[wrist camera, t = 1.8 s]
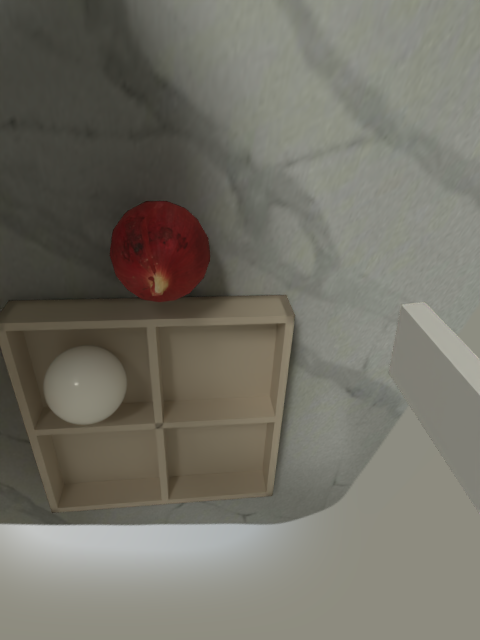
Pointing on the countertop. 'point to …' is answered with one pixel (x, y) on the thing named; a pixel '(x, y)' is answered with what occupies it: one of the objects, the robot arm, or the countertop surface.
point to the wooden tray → (157, 397)
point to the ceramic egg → (85, 384)
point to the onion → (159, 251)
